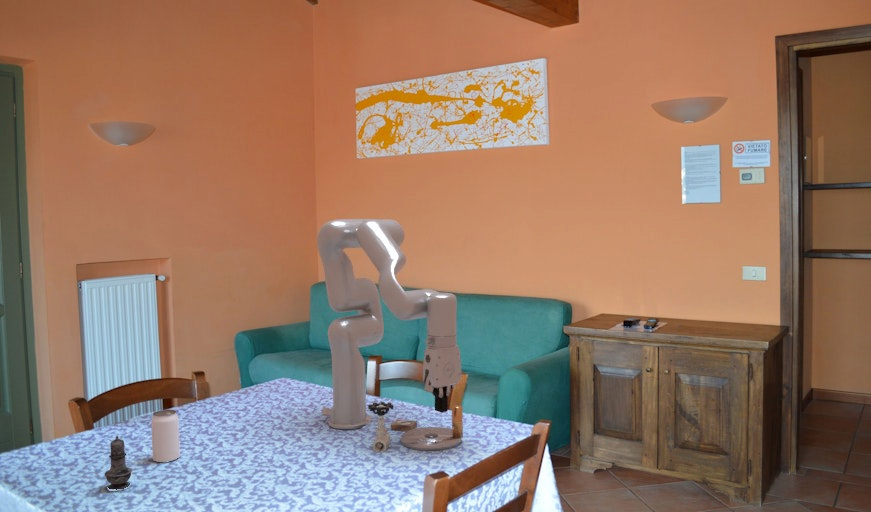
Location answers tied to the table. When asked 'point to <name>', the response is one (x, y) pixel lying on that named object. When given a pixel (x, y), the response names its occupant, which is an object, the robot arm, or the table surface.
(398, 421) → the dial pad
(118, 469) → the salt shaker
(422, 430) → the handwheel
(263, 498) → the table surface
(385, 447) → the valve
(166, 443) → the can
